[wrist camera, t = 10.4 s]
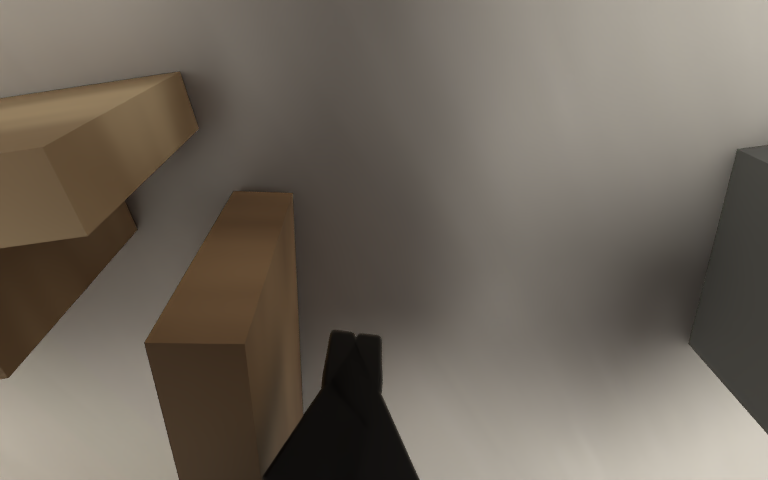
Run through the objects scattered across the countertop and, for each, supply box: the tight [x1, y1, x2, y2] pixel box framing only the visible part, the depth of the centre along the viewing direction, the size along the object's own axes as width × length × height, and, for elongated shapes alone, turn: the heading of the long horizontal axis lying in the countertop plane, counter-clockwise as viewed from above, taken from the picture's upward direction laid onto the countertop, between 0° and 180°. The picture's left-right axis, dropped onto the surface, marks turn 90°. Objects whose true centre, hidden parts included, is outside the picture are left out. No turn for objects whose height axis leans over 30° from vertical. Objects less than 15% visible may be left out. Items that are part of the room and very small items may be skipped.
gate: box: [144, 191, 303, 480], centre depth 10 cm, size 10×1×4 cm, turn 177°
